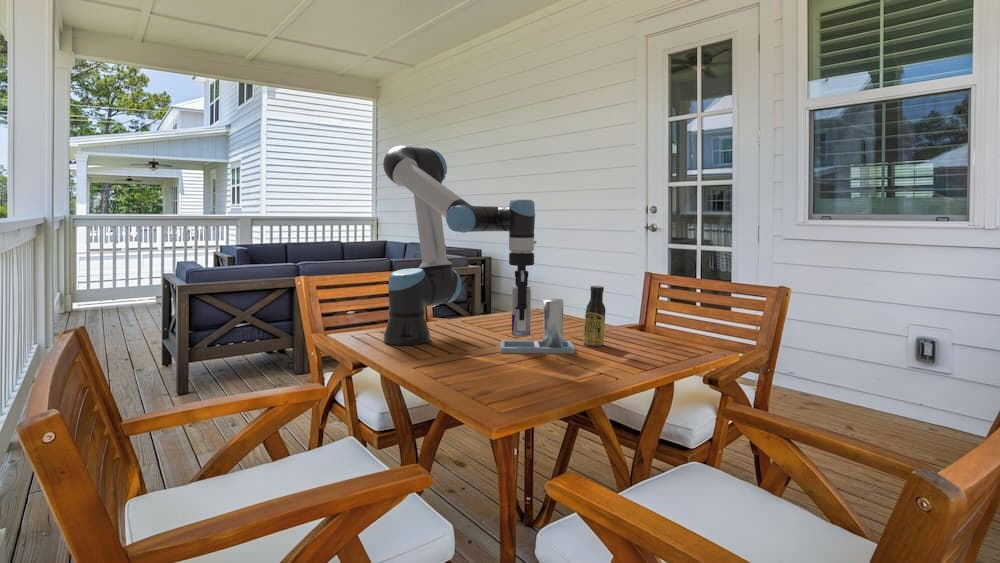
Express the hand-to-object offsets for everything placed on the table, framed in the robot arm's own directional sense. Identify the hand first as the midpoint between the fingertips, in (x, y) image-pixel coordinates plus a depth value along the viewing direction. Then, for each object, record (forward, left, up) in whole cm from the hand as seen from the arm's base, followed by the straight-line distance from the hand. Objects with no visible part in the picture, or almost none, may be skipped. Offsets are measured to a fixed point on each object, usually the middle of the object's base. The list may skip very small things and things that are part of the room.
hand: (520, 328), depth 165 cm
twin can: (+8, +6, -6) cm, 12 cm away
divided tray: (+4, +3, -8) cm, 9 cm away
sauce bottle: (+15, +19, -8) cm, 25 cm away
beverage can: (0, 0, -3) cm, 3 cm away
